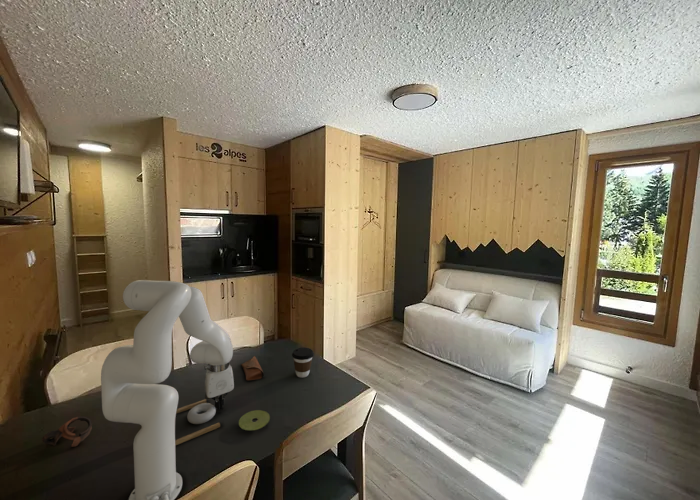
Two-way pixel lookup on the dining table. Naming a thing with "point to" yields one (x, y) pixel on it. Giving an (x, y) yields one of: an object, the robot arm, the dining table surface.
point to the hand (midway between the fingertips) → (219, 408)
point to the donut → (197, 418)
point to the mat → (254, 420)
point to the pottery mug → (68, 432)
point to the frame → (197, 431)
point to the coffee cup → (302, 361)
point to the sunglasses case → (252, 369)
